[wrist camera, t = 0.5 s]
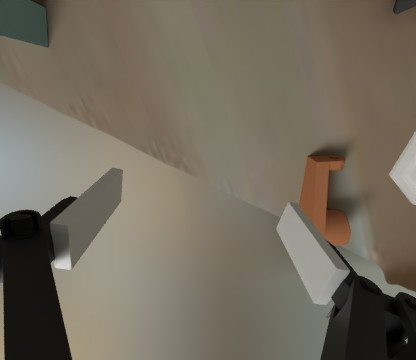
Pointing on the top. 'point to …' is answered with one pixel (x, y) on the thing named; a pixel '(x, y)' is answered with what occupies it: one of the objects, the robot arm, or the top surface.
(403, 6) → the toy airplane
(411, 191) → the big headed doll
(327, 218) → the crank
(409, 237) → the top surface
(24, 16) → the socket block
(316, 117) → the top surface
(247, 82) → the top surface
